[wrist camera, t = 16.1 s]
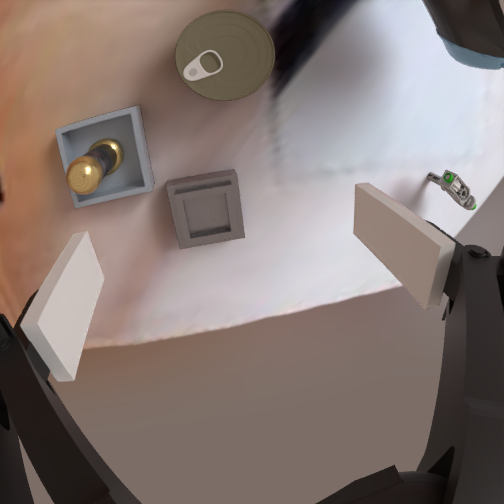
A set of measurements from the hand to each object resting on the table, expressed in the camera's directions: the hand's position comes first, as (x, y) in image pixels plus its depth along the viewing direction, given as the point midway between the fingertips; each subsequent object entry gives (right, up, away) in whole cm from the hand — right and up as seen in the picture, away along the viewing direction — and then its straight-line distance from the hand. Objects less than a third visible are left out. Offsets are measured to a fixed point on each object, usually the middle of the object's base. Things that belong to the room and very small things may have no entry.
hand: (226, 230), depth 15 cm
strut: (-19, +13, +26) cm, 35 cm away
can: (-3, +26, +23) cm, 35 cm away
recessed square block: (-6, +6, +33) cm, 35 cm away
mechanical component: (+35, +14, +38) cm, 54 cm away
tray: (-20, +13, +27) cm, 36 cm away
